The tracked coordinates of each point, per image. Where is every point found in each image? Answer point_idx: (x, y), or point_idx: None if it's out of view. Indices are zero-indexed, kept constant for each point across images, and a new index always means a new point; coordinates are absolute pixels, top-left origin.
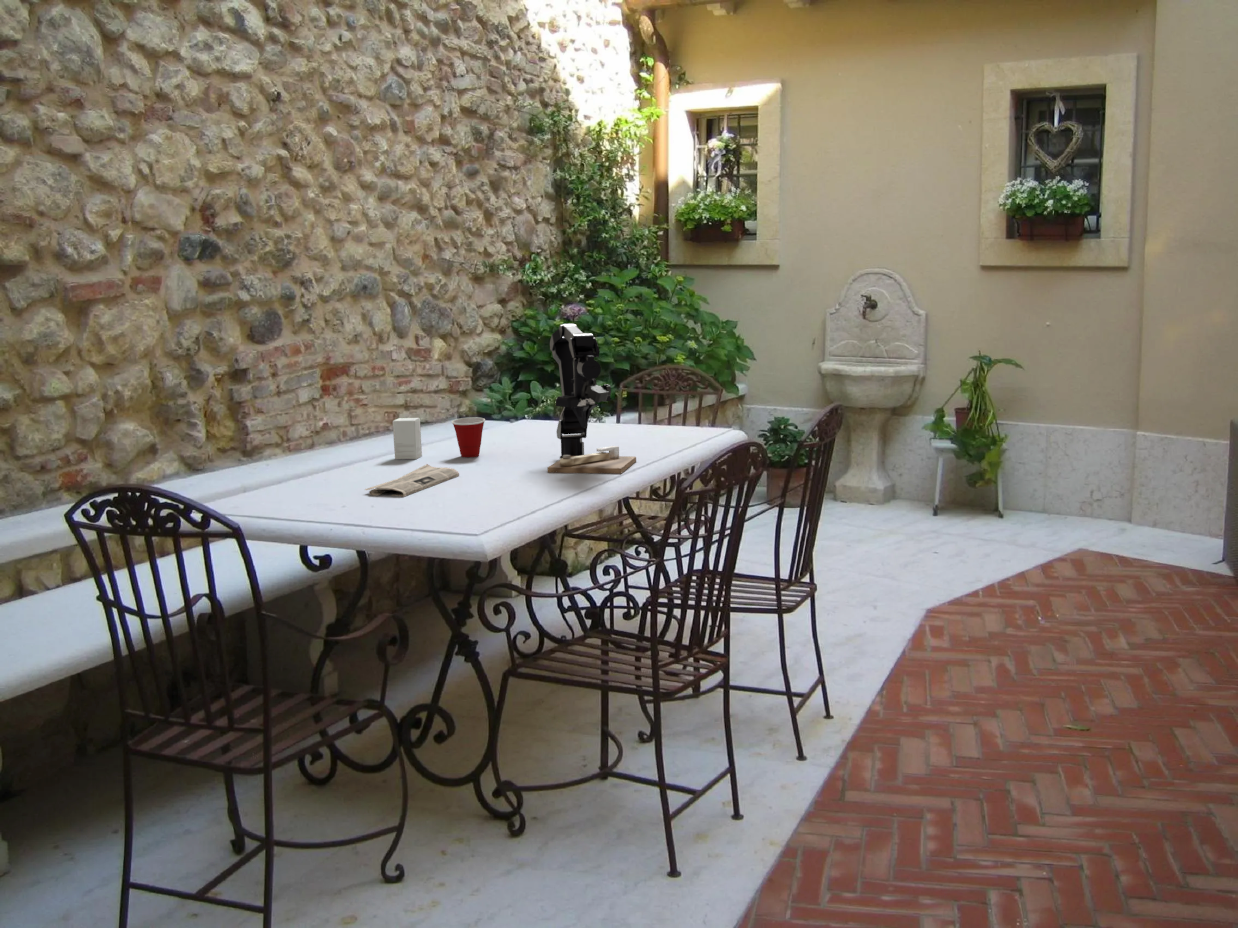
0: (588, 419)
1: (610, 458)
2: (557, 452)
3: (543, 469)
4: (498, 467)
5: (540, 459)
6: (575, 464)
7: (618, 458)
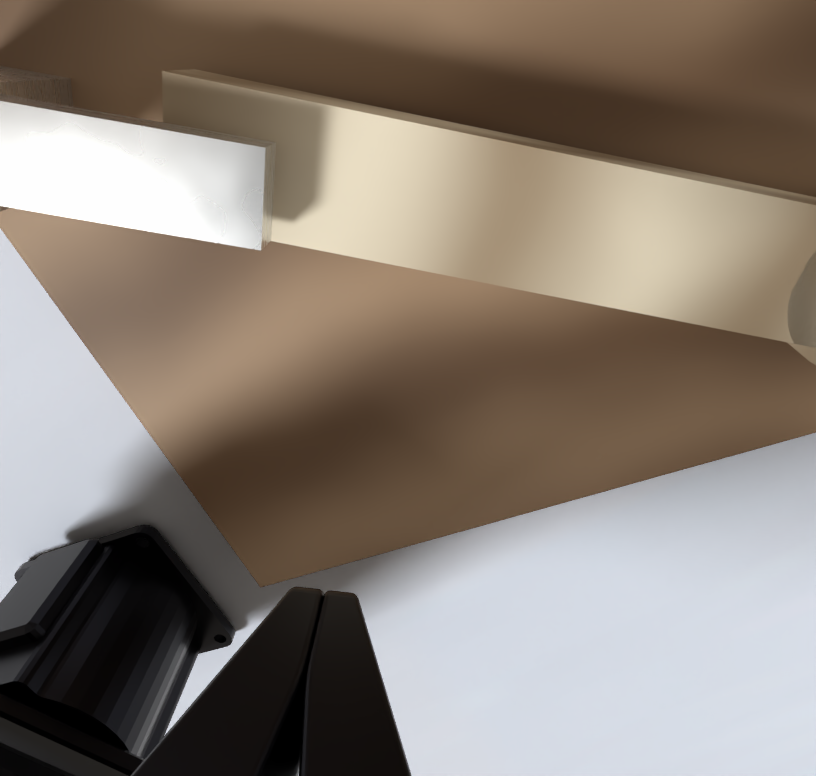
0: (168, 736)
1: None
2: None
3: (761, 482)
4: (749, 746)
5: None
6: None
7: (46, 12)
